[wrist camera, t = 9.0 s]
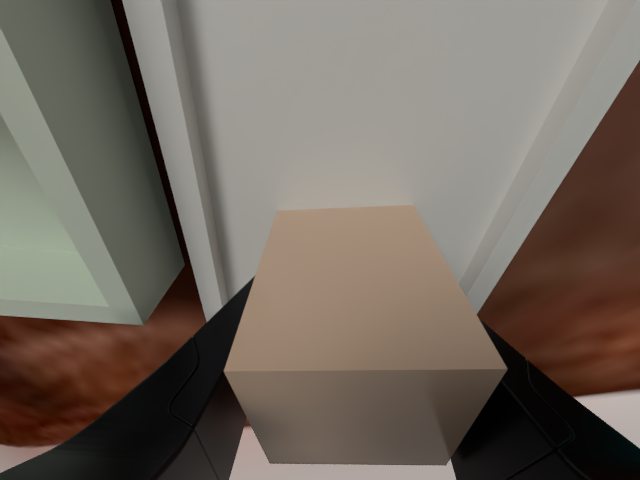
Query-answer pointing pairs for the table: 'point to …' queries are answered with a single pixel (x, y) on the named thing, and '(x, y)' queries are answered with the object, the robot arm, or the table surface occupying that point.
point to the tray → (375, 116)
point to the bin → (77, 171)
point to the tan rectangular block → (359, 343)
